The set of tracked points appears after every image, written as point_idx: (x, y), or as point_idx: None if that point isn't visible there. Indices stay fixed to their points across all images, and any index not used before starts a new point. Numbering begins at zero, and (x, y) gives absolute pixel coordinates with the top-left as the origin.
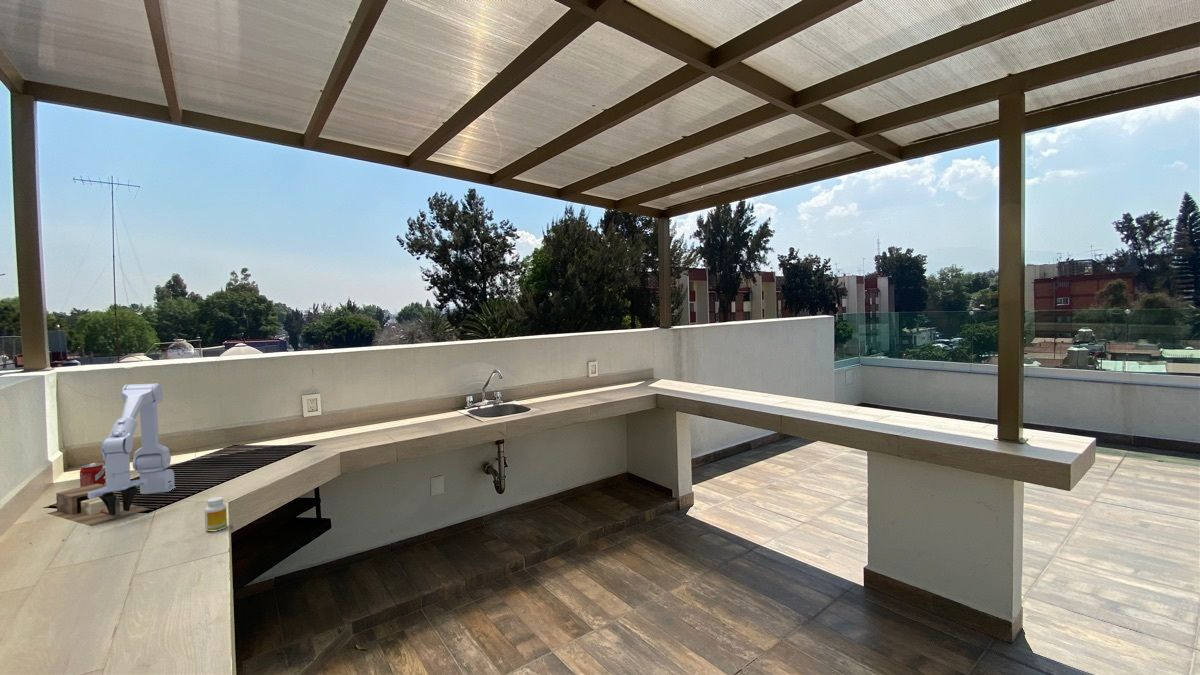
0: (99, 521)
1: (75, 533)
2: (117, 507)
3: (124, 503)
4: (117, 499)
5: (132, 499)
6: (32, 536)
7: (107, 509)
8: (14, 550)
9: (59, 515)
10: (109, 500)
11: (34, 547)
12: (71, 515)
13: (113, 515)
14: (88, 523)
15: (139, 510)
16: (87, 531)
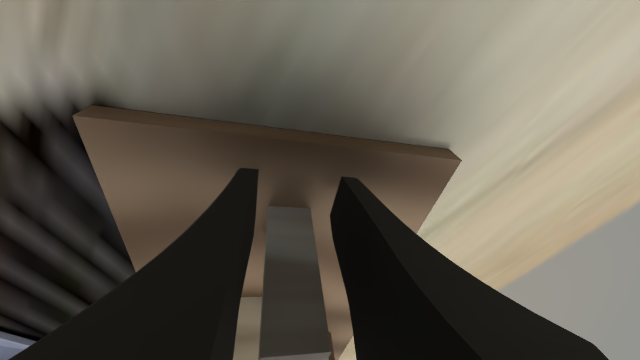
0: (384, 198)
1: (493, 170)
2: (281, 254)
3: (246, 255)
4: (281, 330)
5: (181, 238)
6: (483, 271)
7: (255, 304)
8: (628, 200)
9: (338, 349)
10: (523, 310)
11: (635, 163)
12: (332, 332)
13: (305, 212)
14: (414, 217)
15: (155, 165)
16: (477, 140)
